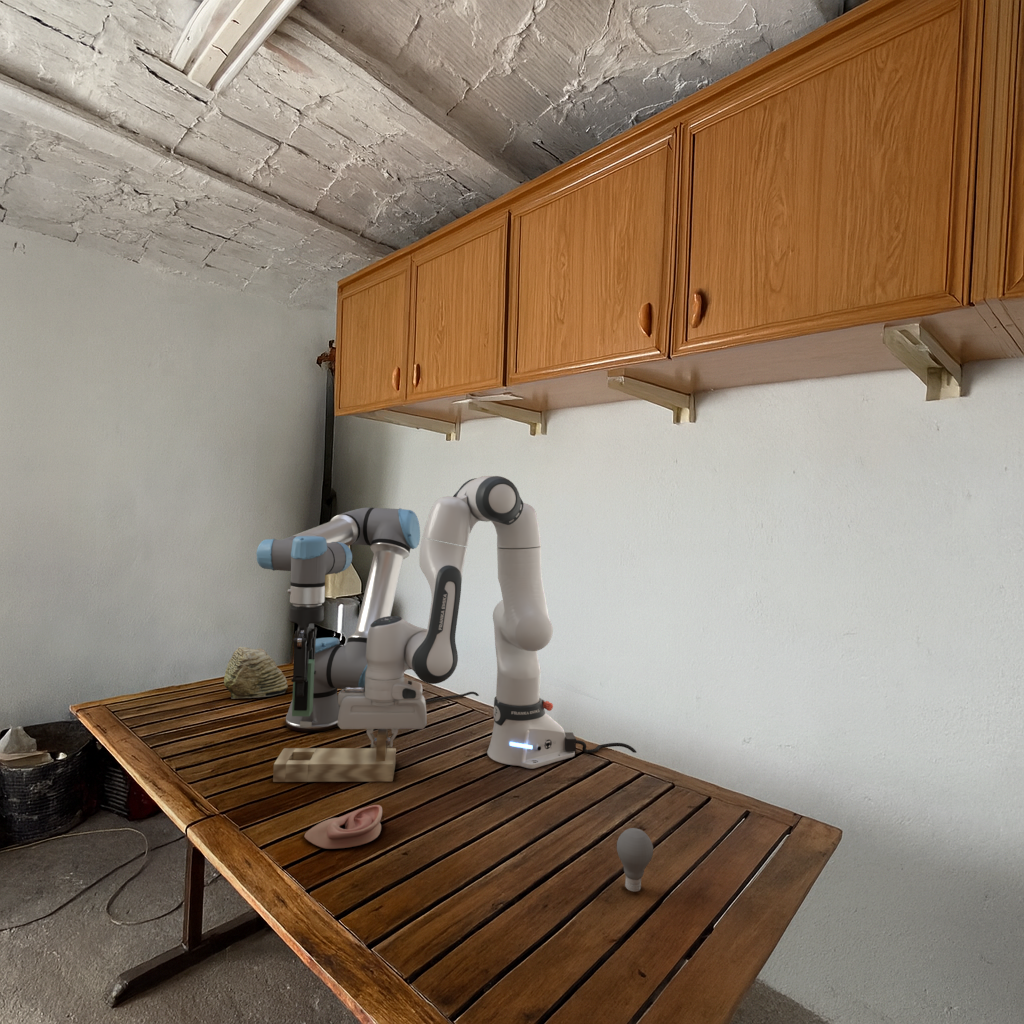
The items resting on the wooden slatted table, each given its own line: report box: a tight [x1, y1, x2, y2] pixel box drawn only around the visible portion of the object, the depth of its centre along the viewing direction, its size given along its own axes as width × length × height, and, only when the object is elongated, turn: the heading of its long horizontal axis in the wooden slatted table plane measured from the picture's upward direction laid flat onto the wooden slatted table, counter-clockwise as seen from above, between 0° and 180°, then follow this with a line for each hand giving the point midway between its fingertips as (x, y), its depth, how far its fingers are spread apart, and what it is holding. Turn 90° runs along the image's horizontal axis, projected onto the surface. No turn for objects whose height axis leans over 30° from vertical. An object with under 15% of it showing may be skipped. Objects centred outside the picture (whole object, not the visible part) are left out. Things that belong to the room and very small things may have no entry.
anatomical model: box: [303, 804, 383, 850], centre depth 119 cm, size 13×4×12 cm
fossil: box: [223, 646, 289, 700], centre depth 198 cm, size 9×18×15 cm, turn 132°
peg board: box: [272, 729, 397, 783], centre depth 145 cm, size 26×9×10 cm, turn 96°
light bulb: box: [616, 827, 654, 893], centre depth 106 cm, size 6×6×10 cm
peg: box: [291, 659, 315, 716], centre depth 144 cm, size 4×4×12 cm
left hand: (302, 706), depth 144 cm, fingers closed on peg, 4 cm apart
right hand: (382, 746), depth 146 cm, fingers closed on peg board, 2 cm apart
